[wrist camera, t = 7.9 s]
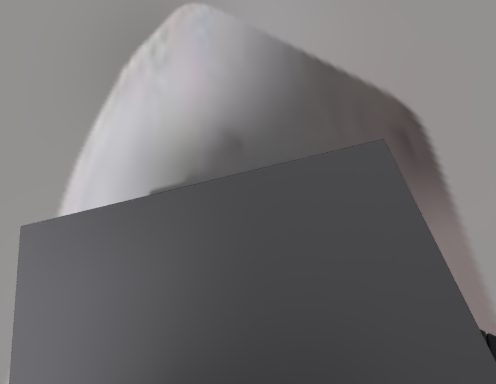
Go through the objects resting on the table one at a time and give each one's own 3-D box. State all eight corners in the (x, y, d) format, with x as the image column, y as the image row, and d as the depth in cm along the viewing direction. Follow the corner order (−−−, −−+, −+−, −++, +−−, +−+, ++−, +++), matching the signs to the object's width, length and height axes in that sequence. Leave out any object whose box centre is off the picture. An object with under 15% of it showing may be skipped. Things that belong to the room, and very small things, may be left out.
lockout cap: (347, 426, 13) (658, 684, 2) (226, 458, 13) (-28, 893, 2) (309, 301, 15) (384, 138, 4) (204, 328, 15) (20, 226, 4)
